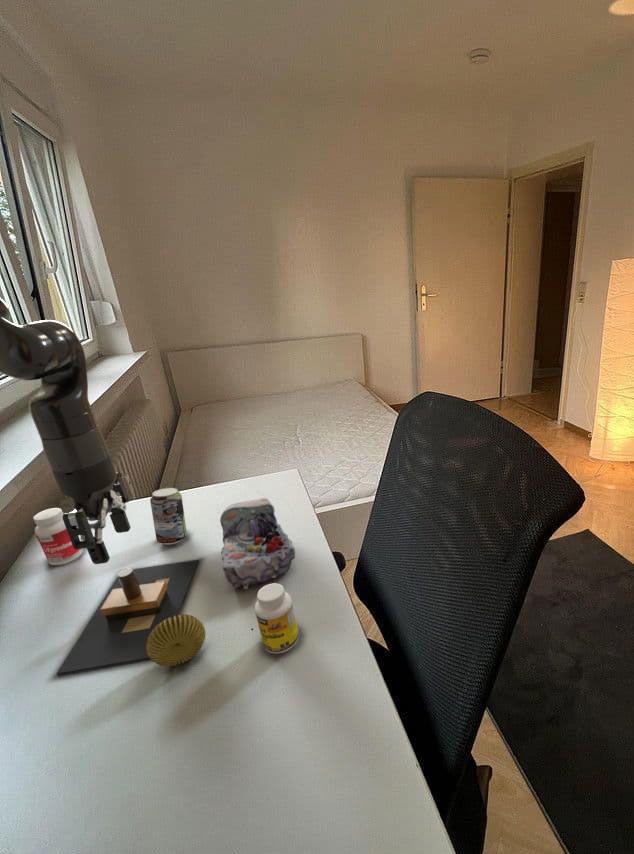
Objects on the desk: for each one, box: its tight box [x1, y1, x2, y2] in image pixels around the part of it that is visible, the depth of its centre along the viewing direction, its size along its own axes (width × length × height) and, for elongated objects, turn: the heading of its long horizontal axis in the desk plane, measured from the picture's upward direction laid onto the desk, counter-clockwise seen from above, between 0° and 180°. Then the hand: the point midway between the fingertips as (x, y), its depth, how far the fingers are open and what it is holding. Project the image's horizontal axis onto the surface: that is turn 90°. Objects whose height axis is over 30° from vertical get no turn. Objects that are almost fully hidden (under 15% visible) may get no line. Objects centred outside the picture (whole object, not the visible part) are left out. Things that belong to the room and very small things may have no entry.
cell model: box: [219, 497, 296, 590], centre depth 88 cm, size 13×11×20 cm
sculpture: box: [146, 614, 206, 667], centre depth 67 cm, size 8×4×8 cm, turn 121°
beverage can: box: [149, 487, 188, 546], centre depth 97 cm, size 6×7×12 cm
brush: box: [100, 567, 168, 621], centre depth 77 cm, size 9×5×8 cm, turn 100°
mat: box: [56, 559, 200, 676], centre depth 79 cm, size 15×24×1 cm, turn 10°
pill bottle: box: [32, 507, 84, 566], centre depth 93 cm, size 6×6×11 cm
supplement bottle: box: [254, 582, 299, 654], centre depth 69 cm, size 6×6×10 cm
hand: (113, 545), depth 73 cm, fingers open, 8 cm apart
